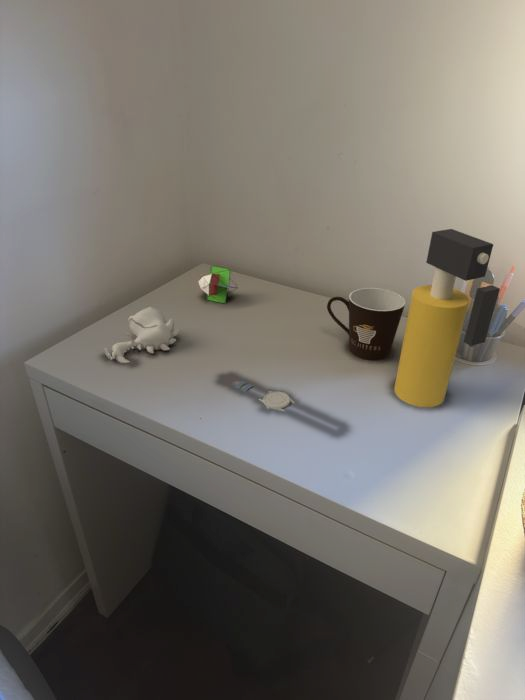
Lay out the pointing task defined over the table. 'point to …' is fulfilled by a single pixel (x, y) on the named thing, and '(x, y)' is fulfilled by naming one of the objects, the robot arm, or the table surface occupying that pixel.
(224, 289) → the geometric puzzle
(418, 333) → the spray bottle
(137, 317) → the toy character
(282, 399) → the wristwatch
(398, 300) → the coffee mug
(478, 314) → the trigger
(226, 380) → the table surface
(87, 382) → the table surface
